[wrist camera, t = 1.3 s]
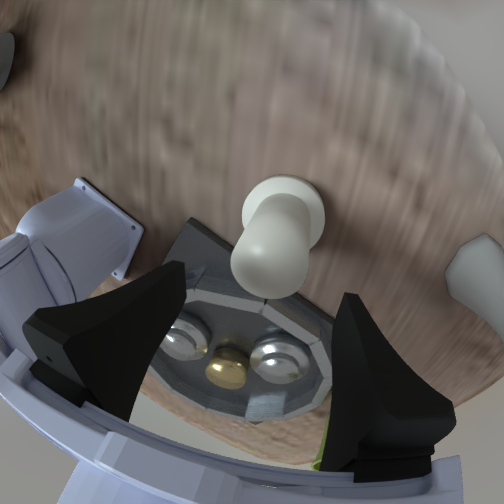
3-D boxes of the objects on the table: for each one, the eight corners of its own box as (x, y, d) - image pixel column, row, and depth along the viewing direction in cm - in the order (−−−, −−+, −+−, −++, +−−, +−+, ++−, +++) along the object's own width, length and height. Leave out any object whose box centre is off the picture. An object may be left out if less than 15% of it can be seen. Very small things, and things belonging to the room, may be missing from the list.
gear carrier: (123, 341, 35) (111, 358, 32) (191, 217, 23) (172, 234, 20) (256, 419, 38) (252, 437, 35) (381, 352, 26) (385, 378, 23)
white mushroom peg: (232, 217, 22) (193, 270, 15) (276, 158, 19) (254, 186, 12) (291, 260, 23) (278, 328, 16) (340, 208, 20) (352, 263, 13)
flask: (461, 311, 21) (494, 388, 13) (431, 271, 20) (471, 357, 12) (509, 266, 18) (557, 332, 9) (485, 217, 17) (551, 283, 8)
